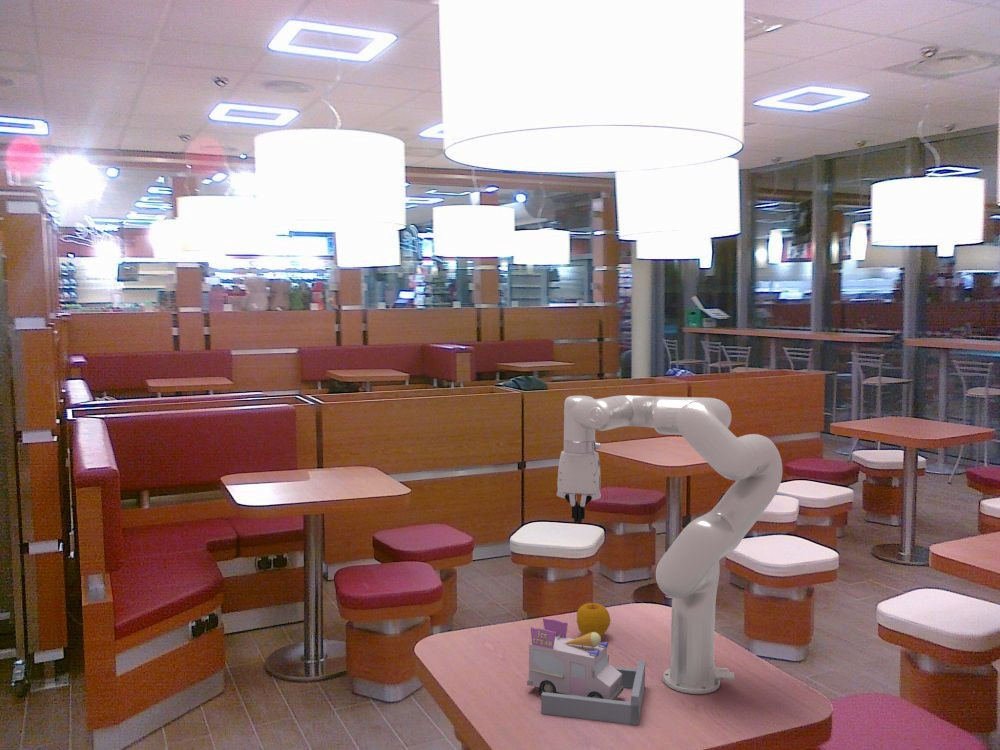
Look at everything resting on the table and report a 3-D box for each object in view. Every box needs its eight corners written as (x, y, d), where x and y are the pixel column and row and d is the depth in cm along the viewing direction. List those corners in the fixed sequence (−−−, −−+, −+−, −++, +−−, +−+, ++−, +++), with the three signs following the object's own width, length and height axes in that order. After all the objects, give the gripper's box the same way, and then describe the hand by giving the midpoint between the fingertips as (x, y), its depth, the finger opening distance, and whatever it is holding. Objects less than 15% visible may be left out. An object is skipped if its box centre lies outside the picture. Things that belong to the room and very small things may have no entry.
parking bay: (644, 686, 194) (645, 660, 194) (637, 725, 177) (638, 696, 176) (556, 677, 199) (556, 651, 198) (541, 713, 182) (541, 685, 181)
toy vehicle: (609, 715, 181) (610, 645, 180) (525, 694, 190) (525, 627, 189) (624, 697, 189) (625, 630, 188) (543, 678, 199) (544, 614, 197)
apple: (616, 638, 222) (617, 604, 221) (594, 647, 216) (595, 612, 215) (591, 629, 228) (591, 596, 227) (569, 637, 222) (569, 603, 221)
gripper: (612, 445, 212) (610, 519, 214) (551, 443, 216) (550, 515, 217) (608, 451, 205) (607, 527, 207) (545, 448, 209) (545, 523, 210)
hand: (578, 521), depth 212 cm, fingers closed
